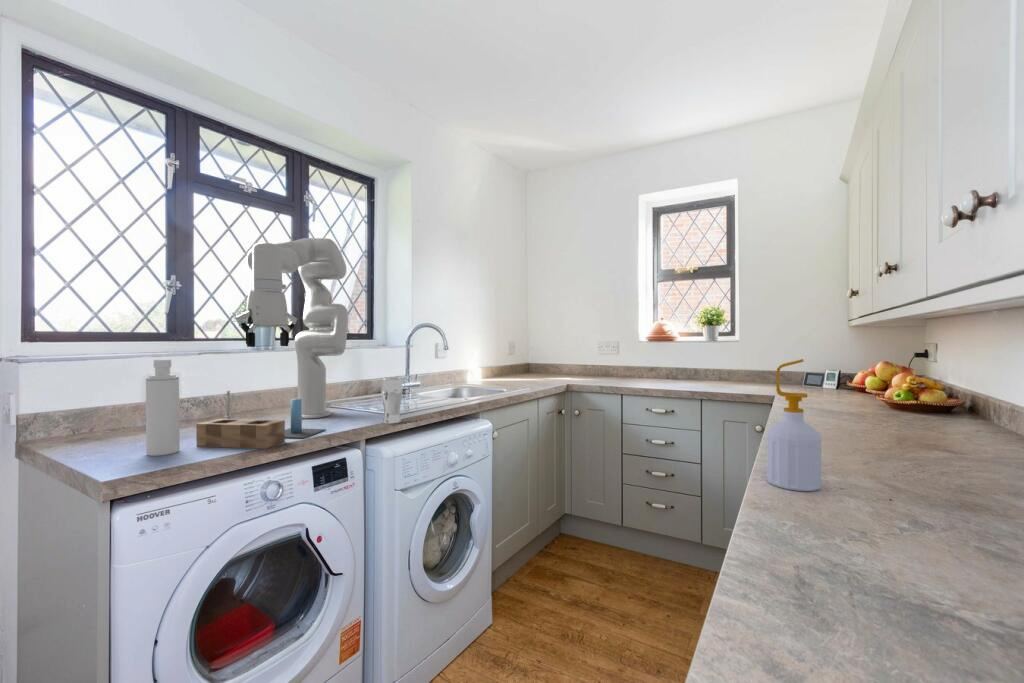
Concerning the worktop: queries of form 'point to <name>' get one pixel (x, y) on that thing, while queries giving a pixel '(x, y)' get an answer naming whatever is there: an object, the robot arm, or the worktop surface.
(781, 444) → the soap bottle
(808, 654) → the worktop surface
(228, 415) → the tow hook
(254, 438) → the hole block
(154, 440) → the white capped bottle
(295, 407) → the pin
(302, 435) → the mat
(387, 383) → the beer glass
